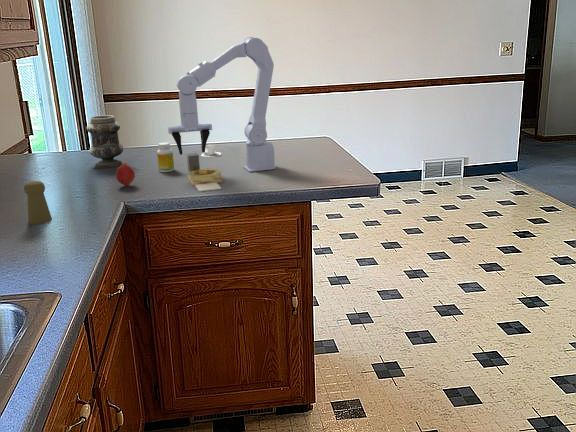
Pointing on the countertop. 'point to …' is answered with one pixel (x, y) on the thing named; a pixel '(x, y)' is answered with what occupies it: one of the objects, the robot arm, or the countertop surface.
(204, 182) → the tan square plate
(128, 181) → the pomegranate
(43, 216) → the yellow tapered knobbed piece
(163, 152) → the supplement bottle
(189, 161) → the steel block
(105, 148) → the carved stone vase
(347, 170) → the countertop surface
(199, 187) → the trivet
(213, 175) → the collar
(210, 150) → the teacup and saucer
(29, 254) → the countertop surface
